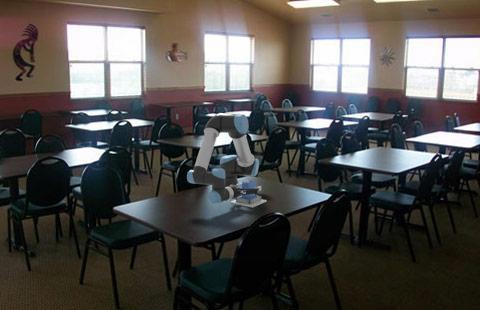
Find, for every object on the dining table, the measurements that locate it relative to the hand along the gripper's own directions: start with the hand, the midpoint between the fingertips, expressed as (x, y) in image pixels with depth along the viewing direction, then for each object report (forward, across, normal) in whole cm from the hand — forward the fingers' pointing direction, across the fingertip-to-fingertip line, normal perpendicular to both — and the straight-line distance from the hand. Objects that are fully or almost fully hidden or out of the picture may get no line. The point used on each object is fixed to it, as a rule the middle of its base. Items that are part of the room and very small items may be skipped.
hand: (251, 186), depth 305 cm
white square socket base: (-3, 0, -10) cm, 10 cm away
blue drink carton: (-3, 0, -8) cm, 9 cm away
